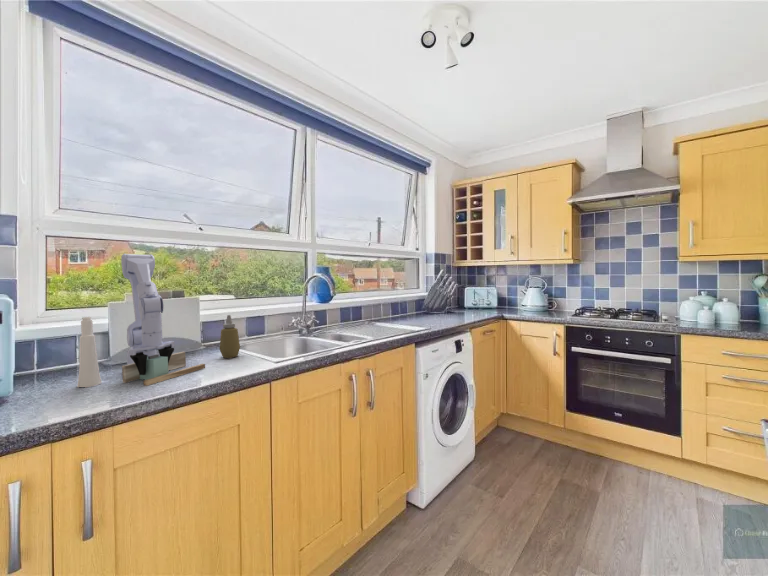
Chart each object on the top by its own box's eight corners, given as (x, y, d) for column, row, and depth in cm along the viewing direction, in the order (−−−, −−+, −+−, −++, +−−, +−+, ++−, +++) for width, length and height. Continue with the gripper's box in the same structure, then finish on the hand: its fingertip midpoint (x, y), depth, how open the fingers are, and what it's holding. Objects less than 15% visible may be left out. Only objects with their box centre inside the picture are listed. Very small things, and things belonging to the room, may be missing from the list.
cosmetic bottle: (106, 381, 113) (103, 316, 112) (91, 387, 107) (87, 318, 106) (88, 382, 113) (85, 316, 112) (71, 388, 107) (68, 318, 106)
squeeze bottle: (235, 358, 142) (233, 316, 141) (216, 359, 142) (214, 316, 141) (243, 354, 150) (242, 314, 149) (225, 354, 150) (224, 314, 149)
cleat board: (122, 382, 112) (122, 365, 111) (183, 365, 132) (182, 351, 132) (146, 385, 108) (146, 368, 107) (205, 367, 128) (204, 353, 128)
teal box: (139, 379, 115) (138, 356, 115) (154, 375, 120) (153, 353, 120) (154, 381, 113) (153, 357, 113) (168, 376, 117) (167, 354, 117)
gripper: (138, 336, 108) (140, 378, 108) (180, 329, 121) (181, 367, 122) (123, 335, 110) (125, 376, 111) (165, 328, 124) (167, 365, 124)
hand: (153, 371), depth 116 cm, fingers open, 7 cm apart
